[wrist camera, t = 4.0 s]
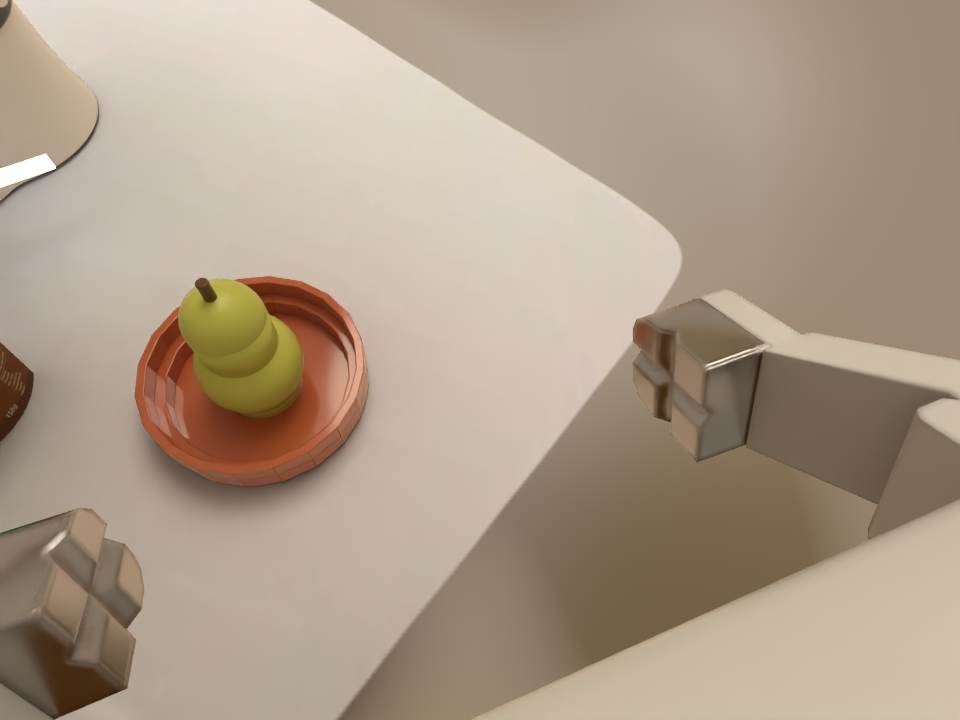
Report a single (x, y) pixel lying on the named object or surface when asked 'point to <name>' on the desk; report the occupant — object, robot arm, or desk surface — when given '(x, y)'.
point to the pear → (240, 349)
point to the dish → (250, 441)
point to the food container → (12, 390)
